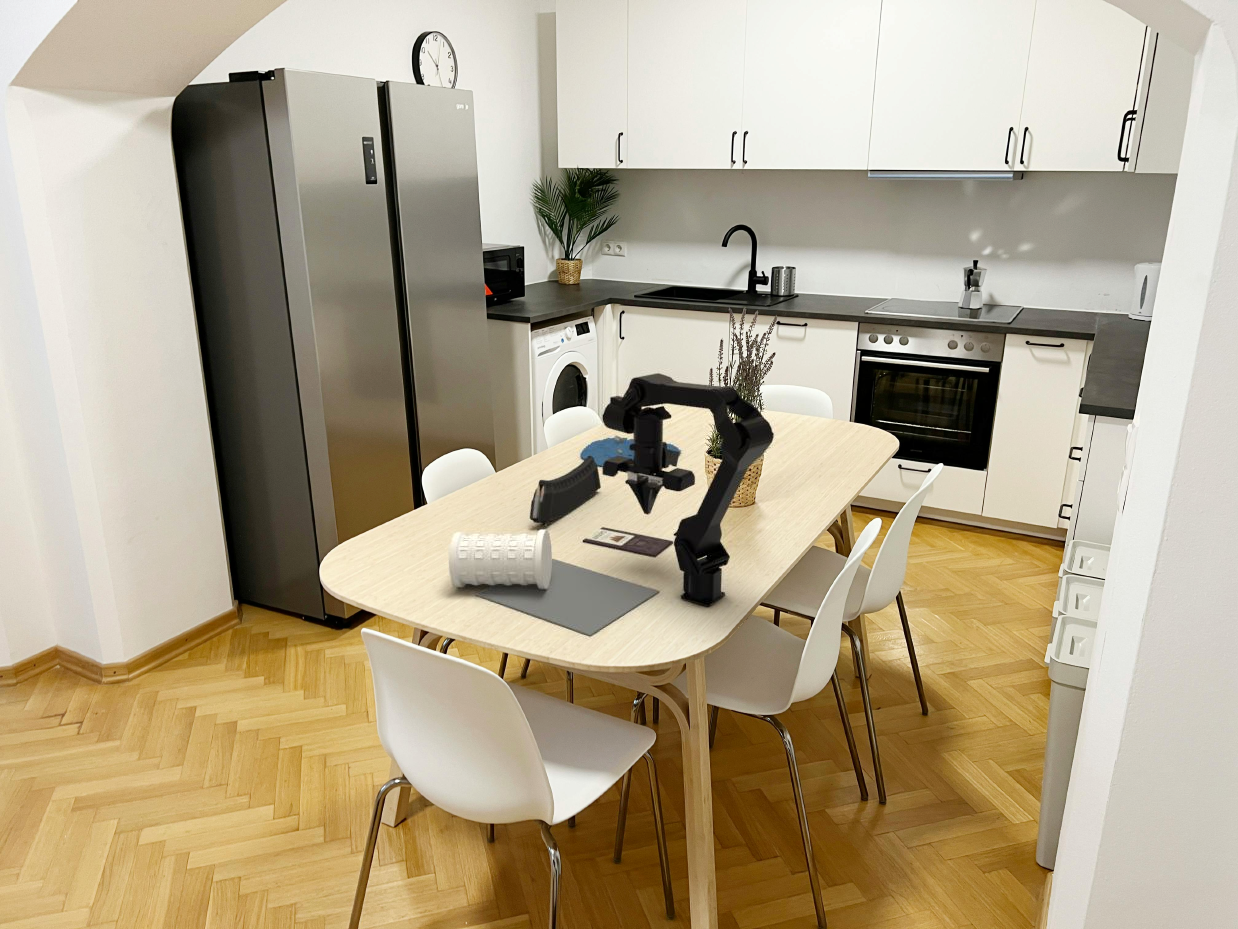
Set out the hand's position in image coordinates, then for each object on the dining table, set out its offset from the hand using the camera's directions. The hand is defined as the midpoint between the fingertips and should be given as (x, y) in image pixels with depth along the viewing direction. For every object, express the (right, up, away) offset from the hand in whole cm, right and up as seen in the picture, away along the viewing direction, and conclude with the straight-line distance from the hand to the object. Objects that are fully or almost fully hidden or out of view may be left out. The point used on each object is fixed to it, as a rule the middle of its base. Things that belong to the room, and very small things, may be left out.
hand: (647, 513), depth 179 cm
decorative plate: (-2, +12, +85) cm, 85 cm away
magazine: (-18, -2, +40) cm, 44 cm away
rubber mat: (-16, -15, -5) cm, 22 cm away
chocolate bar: (-4, -8, +20) cm, 22 cm away
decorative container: (-20, -9, -4) cm, 22 cm away
